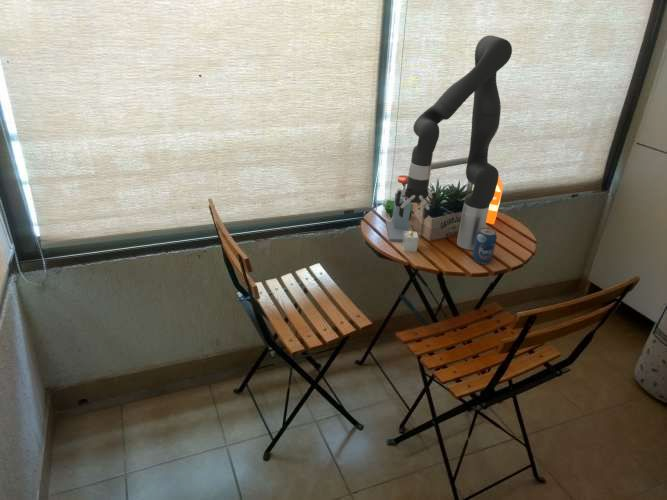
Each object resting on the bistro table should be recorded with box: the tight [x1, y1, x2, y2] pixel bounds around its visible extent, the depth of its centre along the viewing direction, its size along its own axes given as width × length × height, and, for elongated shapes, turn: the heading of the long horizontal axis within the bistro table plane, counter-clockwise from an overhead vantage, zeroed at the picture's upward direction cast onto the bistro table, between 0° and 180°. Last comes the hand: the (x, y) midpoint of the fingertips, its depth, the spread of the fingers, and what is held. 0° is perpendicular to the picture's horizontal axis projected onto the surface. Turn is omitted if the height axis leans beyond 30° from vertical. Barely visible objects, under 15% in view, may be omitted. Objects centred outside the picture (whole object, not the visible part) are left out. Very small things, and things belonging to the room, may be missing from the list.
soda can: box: [472, 227, 498, 265], centre depth 184 cm, size 7×7×12 cm
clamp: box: [384, 199, 414, 219], centre depth 217 cm, size 12×6×9 cm, turn 67°
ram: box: [397, 174, 408, 197], centre depth 201 cm, size 5×5×14 cm
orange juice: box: [486, 176, 504, 225], centre depth 216 cm, size 8×9×20 cm
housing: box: [401, 230, 420, 253], centre depth 191 cm, size 5×5×7 cm
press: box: [385, 191, 414, 243], centre depth 200 cm, size 10×16×14 cm, turn 0°
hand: (412, 217), depth 186 cm, fingers open, 8 cm apart
